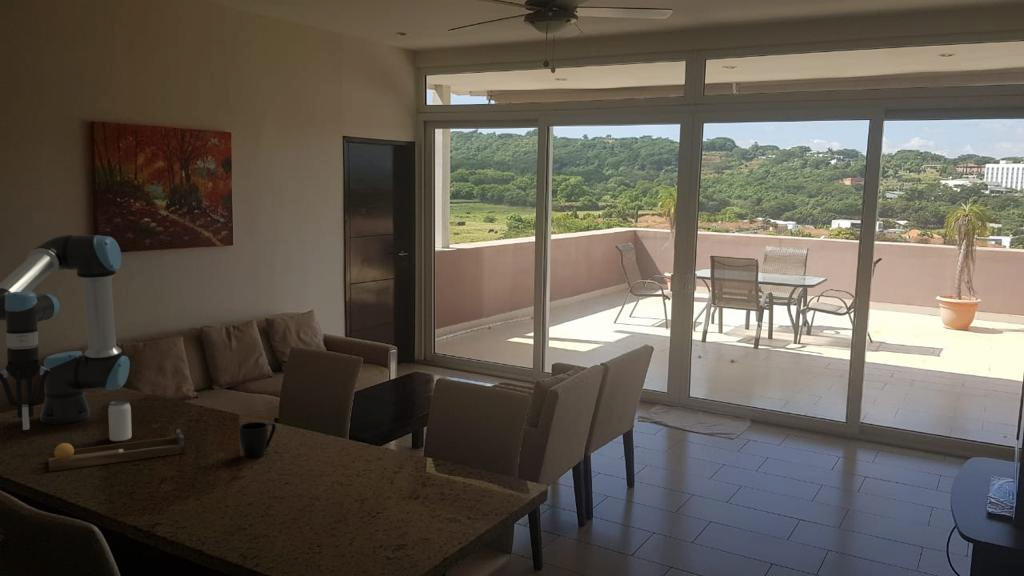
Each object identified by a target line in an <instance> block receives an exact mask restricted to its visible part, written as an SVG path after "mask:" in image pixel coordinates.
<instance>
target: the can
mask: <svg viewBox="0 0 1024 576" xmlns="http://www.w3.org/2000/svg"><path fill="white" fill-rule="evenodd" d="M131 408H132V407H131V405H130V401H129V400H114V401H110V402H109V406H108V409H107V410H108V411H107V413H108V436H109V440H110V441H112V442H116V443H117V442H125V441H128V440H130V439H131V438H132V434H133V433H132V412H131V411H132V409H131Z"/></svg>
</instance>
